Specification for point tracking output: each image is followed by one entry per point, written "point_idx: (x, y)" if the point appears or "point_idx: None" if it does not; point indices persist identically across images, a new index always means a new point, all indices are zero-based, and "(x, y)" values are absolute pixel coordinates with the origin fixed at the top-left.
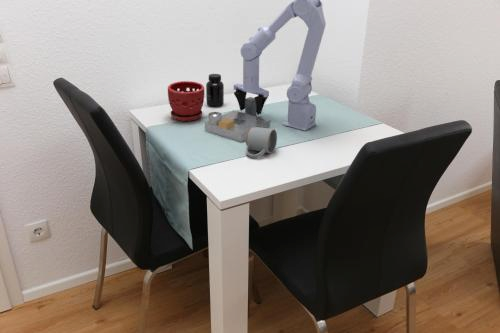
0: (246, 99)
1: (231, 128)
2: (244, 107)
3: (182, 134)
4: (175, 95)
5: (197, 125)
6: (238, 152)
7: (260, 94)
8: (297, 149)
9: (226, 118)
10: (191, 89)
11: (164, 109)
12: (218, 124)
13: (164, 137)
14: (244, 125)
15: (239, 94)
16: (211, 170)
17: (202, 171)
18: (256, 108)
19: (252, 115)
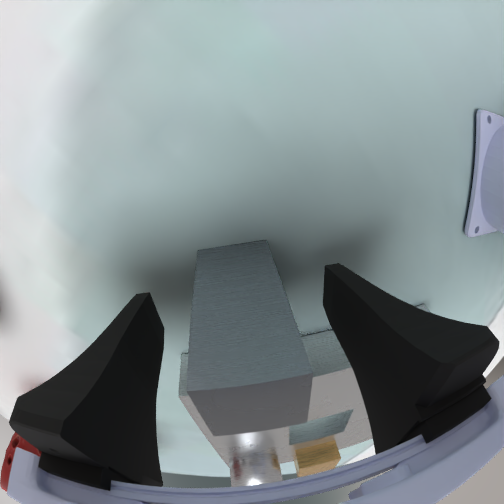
0: (234, 433)
1: (337, 445)
2: (148, 307)
3: (207, 463)
4: None
5: (170, 440)
6: None
7: (433, 443)
8: (498, 327)
9: (303, 468)
10: (10, 463)
11: (7, 400)
12: (278, 459)
13: (197, 473)
14: (366, 421)
15: (155, 476)
16: (371, 451)
17: (360, 457)
18: (346, 352)
19: (342, 370)
